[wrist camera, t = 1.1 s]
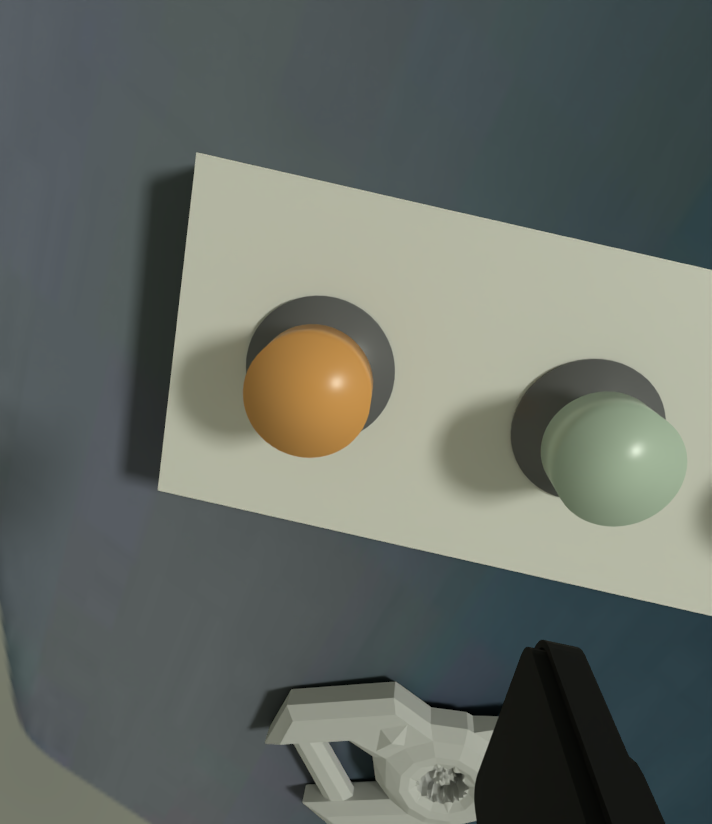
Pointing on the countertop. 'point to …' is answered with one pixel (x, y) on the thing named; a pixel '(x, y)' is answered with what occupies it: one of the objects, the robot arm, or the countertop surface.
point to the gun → (385, 754)
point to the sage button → (613, 459)
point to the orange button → (309, 391)
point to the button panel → (439, 376)
